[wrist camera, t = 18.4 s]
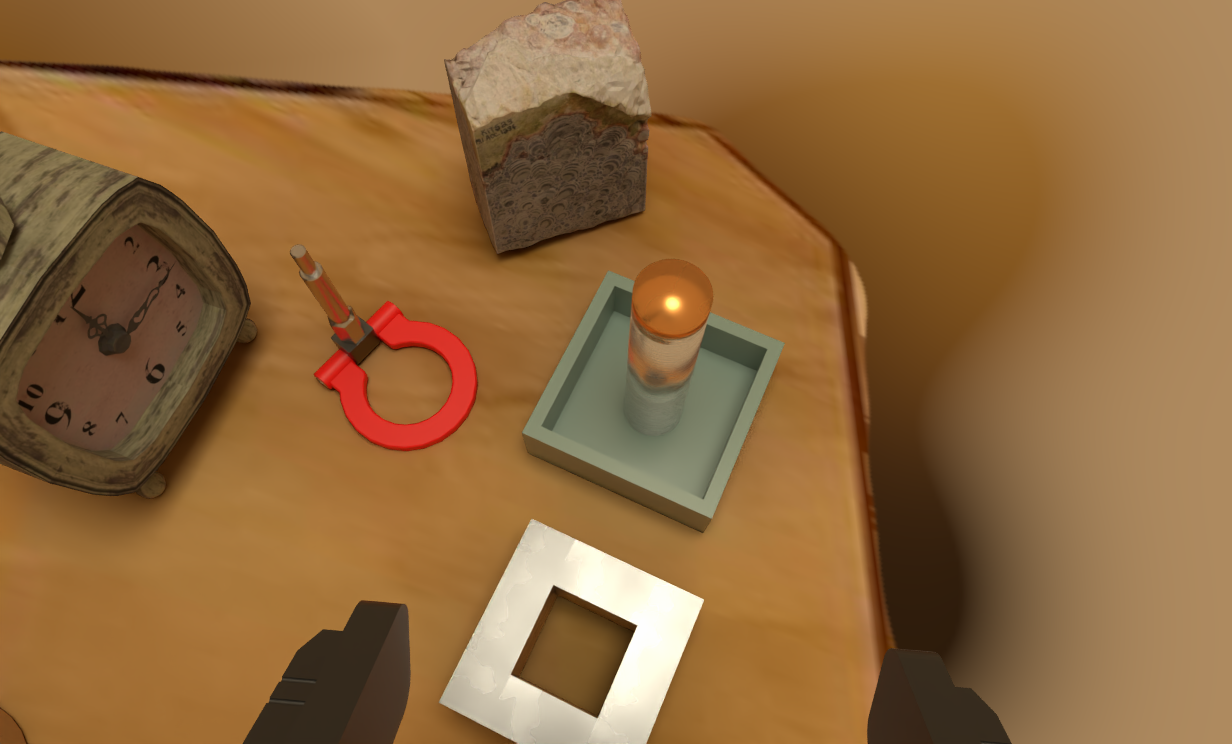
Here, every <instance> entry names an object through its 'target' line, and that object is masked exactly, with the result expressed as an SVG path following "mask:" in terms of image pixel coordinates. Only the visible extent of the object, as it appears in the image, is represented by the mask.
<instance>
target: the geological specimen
mask: <svg viewBox="0 0 1232 744" xmlns="http://www.w3.org/2000/svg"><path fill="white" fill-rule="evenodd" d="M444 61H445V67H446V71H447V76H448V80H449V85H450V90H451V94H452V98H453V103H454V108H455V113H456V118H457V123H458V127H459V132H460V136H461V140H462V145H463V149H464V153H465V158H466V162H467V167H468V172H469V176H470V181H471V184H472V188H473V192H474V196H475V199H476V203H477V205H478V207H479V210H480V213H481V217H482V219H483V221H484V224H485V227H486V229H487V231H488V234H489V236H490V239H491V242H492V244H493V246H494V248H495V250H496V252H497V254H498V253H501V252H504V251H507V250H514V249H517V248H525V247H528V246H531V245H533V244H535V243H537V242H539V241H541V240H543V239H547V238H551V237H553V236H556V235H560V234H565V233H571V232H573V231H577V230H578V229H581V230H582V229H587V228H591V227H595V226H596V225H598V224H600V223H603V222H605V221H607V220H615V219H619V218H622V217H625V216H628V215H630V214H633V213H638V212H641V211H644V210H645V198H646V177H647V157H648V146H647V143H646V140H648V136H649V128H648V125H647V120H648V118H649V117H651V108H650V102H649V96H648V86H647V81H646V78H645V69H644V67H643V65H642V63H641V52H640V48H639V45H638V43H637V41H636V40H635V38H634V36H633V34H632V31H631V28H630V25H629V21H628V18H627V15H626V14H625V13H624V9H623V6H622V3H621V0H566V1H563V2H560V3H557V4H555V5H553V4H549V3H546V2H544V3H542V4H540V5H538V6H537V7H536V8H535V10H534V12H532V13H530V14H528V15H520V16H514V17H511V18H509V19H507V20H505V21H504V22H503V23H501V25H500V26H499V27H498V28H497V29H495V30H494V31H493V32H491V33H489V34H488V35H486V36H485V37H483V38H482V39H481V40H479V41H478V42H476V43H475V44H474V45H472V46H471V47H469V48H468V49H465V48H464V49H462V50H461V51H459V52H458V53H457V54H456V57H455V58H453V59H452V60H446V59H444Z"/></svg>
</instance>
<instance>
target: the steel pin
mask: <svg viewBox="0 0 1232 744" xmlns="http://www.w3.org/2000/svg"><path fill="white" fill-rule="evenodd" d="M712 302H713V290H712V286H711V283H710V281H709V279H708V278H707V276H706V275H705V274H704V273H703V272H702V270H700V269H699V268H698V267H696V266H695V265H693V264H691V263H689V262H686V261H683V260H679V259H664V260H660V261H657V262H654V263H652V264H650V265H648V266H647V267H645V268H644V269H643V270H642V271H641V272H640V273H639V275H638V276H637V278H636V280H635V282H634V285H633V291H632V304H631V317H630V331H629V345H628V359H627V372H626V386H625V400H624V413H625V417H626V419H627V421H628V423H629V424H630V425H631V426H632V427H633V428H634V429H635V430H636V431H638V432H640V433H642V434H645V435H649V436H658V435H663V434H665V433H667V432H669V431H671V430H672V429H673V428H674V427H675V426H676V425H677V424H678V422H679V420H680V417H681V414H682V411H683V407H684V404H685V400H686V396H687V393H688V389H689V386H690V382H691V378H692V375H693V371H694V368H695V364H696V360H697V357H698V353H699V350H700V346H701V343H702V339H703V335H704V332H705V328H706V325H707V321H708V317H709V314H710V310H711V307H712Z"/></svg>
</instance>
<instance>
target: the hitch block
mask: <svg viewBox="0 0 1232 744" xmlns="http://www.w3.org/2000/svg"><path fill="white" fill-rule="evenodd" d="M558 595H559V596H561V597H563V598H565V599H567V600H569V601H571V602H573V603H575V604H577V605H579V606H581V607H583V608H585V609H588V610H590V611H592V612H594V613H596V614H598V615H600V616H602V617H604V618H606V619H608V620H610V621H612V622H614V623H616V624H619V625H621V626H623V627H625V628H627V629H629V630H631V631H633V632H634V634H633V636H632V639H631V641H630V643H629V646H628V648H627V650H626V653H625V655H624V657H623V660H622V662H621V664H620V667H619V669H618V671H617V674H616V676H615V678H614V681H613V683H612V685H611V688H610V690H609V692H608V695H607V697H606V699H605V702H604V704H603V706H602V708H601V711H600V713H599V715H598V716H596V715H594V714H592V713H590V712H588V711H586V710H584V709H582V708H580V707H578V706H576V705H574V704H572V703H570V702H568V701H566V700H564V699H562V698H560V697H558V696H556V695H554V694H552V693H550V692H548V691H546V690H544V689H542V688H540V687H538V686H536V685H534V684H532V683H530V682H528V681H526V680H525V679H523V678H521V677H519V676H520V674H521V672H522V670H523V668H524V666H525V664H526V661H527V659H528V657H529V655H530V653H531V651H532V649H533V647H534V645H535V642H536V640H537V638H538V636H539V634H540V632H541V630H542V628H543V626H544V623H545V621H546V619H547V617H548V615H549V613H550V611H551V609H552V607H553V604H554V602H555V600H556V598H557V596H558ZM703 601H704V600H703V599H701V598H699V597H697V596H695V595H693V594H691V593H689V592H686V591H684V590H682V589H680V588H678V587H676V586H674V585H672V584H669V583H667V582H665V581H663V580H661V579H659V578H657V577H655V576H652V575H650V574H648V573H646V572H644V571H642V570H640V569H638V568H635V567H633V566H631V565H629V564H627V563H625V562H623V561H621V560H618V559H616V558H614V557H612V556H610V555H608V554H606V553H604V552H601V551H599V550H597V549H595V548H593V547H591V546H589V545H586V544H584V543H582V542H580V541H578V540H576V539H574V538H572V537H569V536H567V535H565V534H563V533H561V532H559V531H557V530H555V529H552V528H550V527H548V526H546V525H544V524H542V523H540V522H538V521H535V520H533V519H531V521H530V523H529V525H528V527H527V529H526V531H525V533H524V535H523V537H522V539H521V541H520V543H519V545H518V547H517V549H516V551H515V553H514V555H513V556H512V558H511V560H510V562H509V564H508V566H507V568H506V570H505V572H504V574H503V576H502V578H501V580H500V582H499V584H498V586H497V588H496V590H495V592H494V594H493V596H492V598H491V600H490V602H489V604H488V606H487V608H486V610H485V612H484V614H483V616H482V618H481V620H480V622H479V624H478V626H477V628H476V630H475V632H474V634H473V636H472V638H471V640H470V642H469V644H468V646H467V648H466V650H465V651H464V653H463V655H462V657H461V659H460V661H459V663H458V665H457V667H456V669H455V671H454V673H453V675H452V677H451V679H450V681H449V683H448V685H447V687H446V689H445V691H444V693H443V695H442V697H441V699H440V701H439V703H441V704H443V705H445V706H447V707H449V708H450V709H452V710H454V711H456V712H458V713H460V714H462V715H464V716H466V717H468V718H470V719H472V720H474V721H476V722H478V723H479V724H481V725H483V726H485V727H487V728H489V729H491V730H493V731H495V732H497V733H499V734H501V735H503V736H505V737H506V738H508V739H510V740H512V741H514V742H516V743H518V744H646V742H647V740H648V737H649V735H650V732H651V730H652V727H653V725H654V723H655V720H656V718H657V715H658V713H659V710H660V708H661V705H662V703H663V700H664V698H665V695H666V693H667V690H668V688H669V685H670V683H671V680H672V678H673V675H674V673H675V670H676V668H677V666H678V663H679V661H680V658H681V656H682V653H683V651H684V648H685V646H686V643H687V641H688V638H689V636H690V633H691V631H692V628H693V626H694V623H695V621H696V618H697V616H698V613H699V611H700V609H701V606H702V604H703Z"/></svg>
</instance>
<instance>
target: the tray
mask: <svg viewBox="0 0 1232 744" xmlns="http://www.w3.org/2000/svg"><path fill="white" fill-rule="evenodd" d="M634 282H635V281H633V280H630V279H628V278H625V277H623V276H620V275H618V274H616V273H613V272H611V271H608V272H607V274H606V276H605V278H604V280H603V282H602V284H601V285H600V287H599V289H598V291H597V293H596V295H595V297H594V299H593V300H592V302H591V304H590V306H589V308H588V310H587V312H586V314H585V315H584V317H583V319H582V321H581V323H580V325H579V327H578V329H577V331H576V332H575V334H574V336H573V338H572V340H571V342H570V344H569V346H568V347H567V349H566V351H565V353H564V355H563V357H562V359H561V361H560V362H559V364H558V366H557V368H556V370H555V372H554V374H553V376H552V377H551V379H550V381H549V383H548V385H547V387H546V389H545V391H544V392H543V394H542V396H541V398H540V400H539V402H538V404H537V406H536V407H535V409H534V411H533V413H532V415H531V417H530V419H529V421H528V422H527V424H526V426H525V428H524V430H523V432H522V434H523V438H524V441H525V444H526V448H527V451H528V453H529V454H531V455H534V456H536V457H538V458H540V459H542V460H544V461H547V462H549V463H551V464H553V465H555V466H558V467H560V468H562V469H564V470H566V471H569V472H571V473H573V474H575V475H577V476H580V477H582V478H584V479H586V480H588V481H590V482H593V483H595V484H597V485H599V486H601V487H604V488H606V489H608V490H610V491H612V492H615V493H617V494H619V495H621V496H623V497H625V498H628V499H630V500H632V501H634V502H636V503H639V504H641V505H643V506H645V507H647V508H650V509H652V510H654V511H656V512H658V513H661V514H663V515H665V516H667V517H669V518H671V519H674V520H676V521H678V522H680V523H682V524H685V525H687V526H689V527H691V528H693V529H696V530H698V531H700V532H702V533H703V532H704V531H705V529H706V527H707V526H708V524H709V522H710V521H711V519H712V517H713V515H714V512H715V510H716V507H717V505H718V503H719V500H720V498H721V495H722V493H723V491H724V488H725V486H726V483H727V481H728V479H729V476H730V474H731V471H732V469H733V467H734V464H735V462H736V459H737V457H738V455H739V452H740V450H741V447H742V445H743V443H744V440H745V438H746V435H747V433H748V430H749V428H750V426H751V423H752V421H753V418H754V416H755V414H756V411H757V409H758V406H759V404H760V402H761V399H762V397H763V394H764V392H765V390H766V387H767V385H768V382H769V380H770V378H771V375H772V373H773V370H774V368H775V366H776V363H777V361H778V358H779V356H780V354H781V351H782V349H783V346H784V344H785V343H783V342H781V341H778V340H776V339H773V338H771V337H768V336H766V335H764V334H761V333H759V332H756V331H754V330H751V329H749V328H747V327H744V326H742V325H739V324H737V323H734V322H732V321H730V320H727V319H725V318H722V317H720V316H717V315H715V314H713V313H710V314H709V317H708V321H707V325H706V328H705V332H704V335H703V339H702V343H701V346H700V350H699V353H698V357H697V360H696V364H695V368H694V371H693V375H692V378H691V382H690V386H689V389H688V393H687V396H686V400H685V404H684V407H683V411H682V414H681V417H680V420H679V422H678V424H677V425H676V426H675V427H674V428H673V429H672V430H671V431H669V432H667V433H665V434H663V435H658V436H649V435H645V434H642V433H640V432H638V431H636V430H635V429H634V428H633V427H632V426H631V425H630V424H629V423H628V421H627V419H626V417H625V413H624V400H625V386H626V372H627V359H628V345H629V331H630V317H631V304H632V291H633V285H634Z"/></svg>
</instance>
